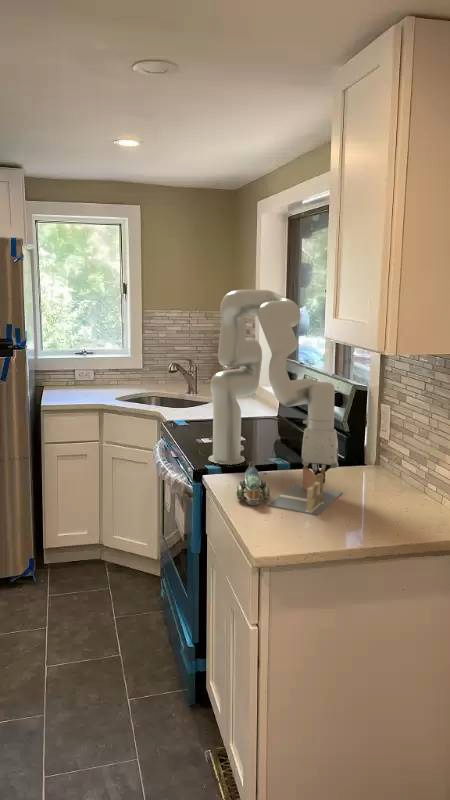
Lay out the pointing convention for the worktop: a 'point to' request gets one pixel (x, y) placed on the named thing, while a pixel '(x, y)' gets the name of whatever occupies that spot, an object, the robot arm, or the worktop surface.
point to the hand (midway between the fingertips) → (319, 485)
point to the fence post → (315, 492)
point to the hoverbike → (252, 487)
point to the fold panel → (308, 478)
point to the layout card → (303, 500)
